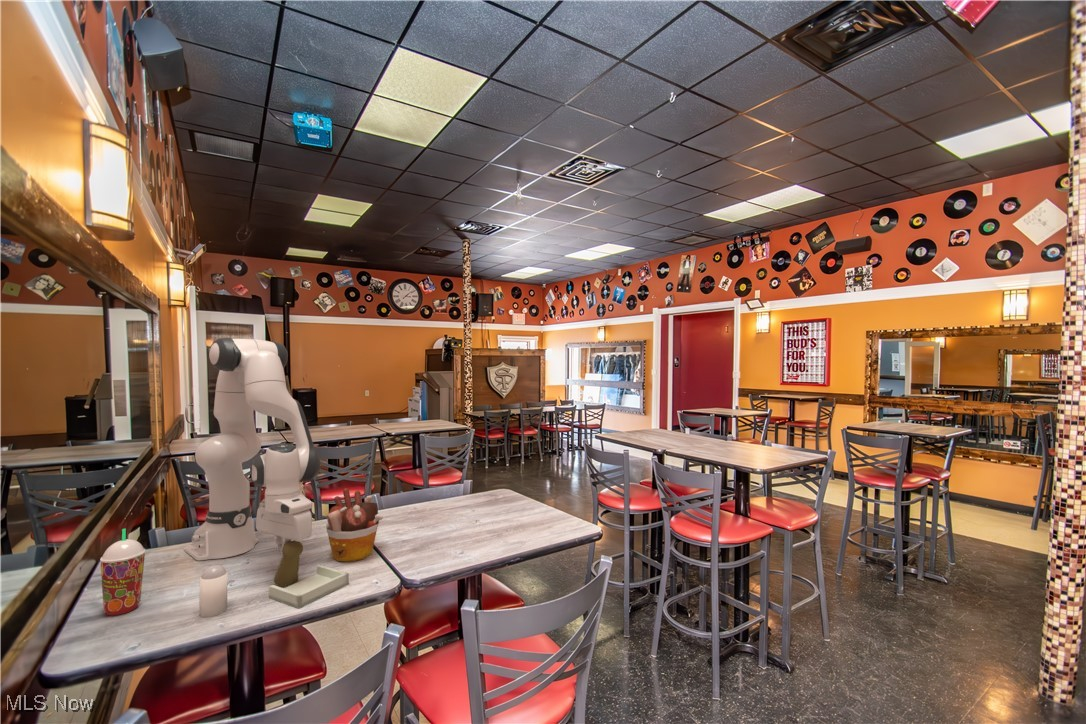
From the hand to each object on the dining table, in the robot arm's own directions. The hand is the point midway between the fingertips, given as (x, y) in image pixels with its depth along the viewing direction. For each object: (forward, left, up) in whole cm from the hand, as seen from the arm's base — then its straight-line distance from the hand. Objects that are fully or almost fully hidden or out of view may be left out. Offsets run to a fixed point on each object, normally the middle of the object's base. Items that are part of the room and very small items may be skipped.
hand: (282, 551), depth 130 cm
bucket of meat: (+2, +22, -9) cm, 24 cm away
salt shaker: (+1, -18, -9) cm, 20 cm away
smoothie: (-20, -28, -9) cm, 36 cm away
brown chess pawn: (+2, 0, -8) cm, 8 cm away
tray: (+12, 0, -9) cm, 15 cm away
